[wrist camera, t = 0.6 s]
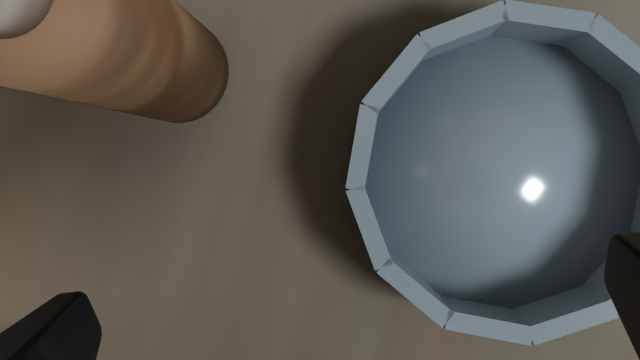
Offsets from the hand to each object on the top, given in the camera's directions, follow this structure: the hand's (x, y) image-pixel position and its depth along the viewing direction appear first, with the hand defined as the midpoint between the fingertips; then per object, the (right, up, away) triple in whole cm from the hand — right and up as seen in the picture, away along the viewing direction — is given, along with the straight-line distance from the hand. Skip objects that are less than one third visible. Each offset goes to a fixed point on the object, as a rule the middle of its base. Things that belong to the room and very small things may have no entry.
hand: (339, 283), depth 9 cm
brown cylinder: (-6, +6, +13) cm, 16 cm away
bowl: (+7, +2, +13) cm, 15 cm away
